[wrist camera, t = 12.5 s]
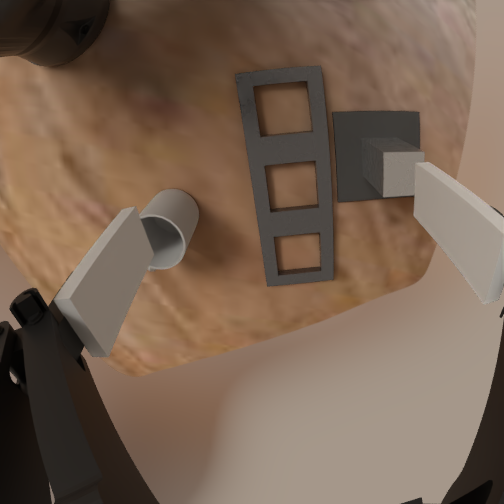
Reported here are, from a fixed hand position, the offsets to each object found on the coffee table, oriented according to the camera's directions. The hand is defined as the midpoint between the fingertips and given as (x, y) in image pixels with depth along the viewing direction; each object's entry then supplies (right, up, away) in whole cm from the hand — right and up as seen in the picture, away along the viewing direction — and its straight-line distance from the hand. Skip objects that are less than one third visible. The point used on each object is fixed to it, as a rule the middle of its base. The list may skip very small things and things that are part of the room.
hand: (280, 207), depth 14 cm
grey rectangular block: (+15, +10, +23) cm, 29 cm away
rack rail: (+4, +7, +26) cm, 27 cm away
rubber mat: (+15, +11, +23) cm, 30 cm away
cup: (-12, +3, +29) cm, 32 cm away
